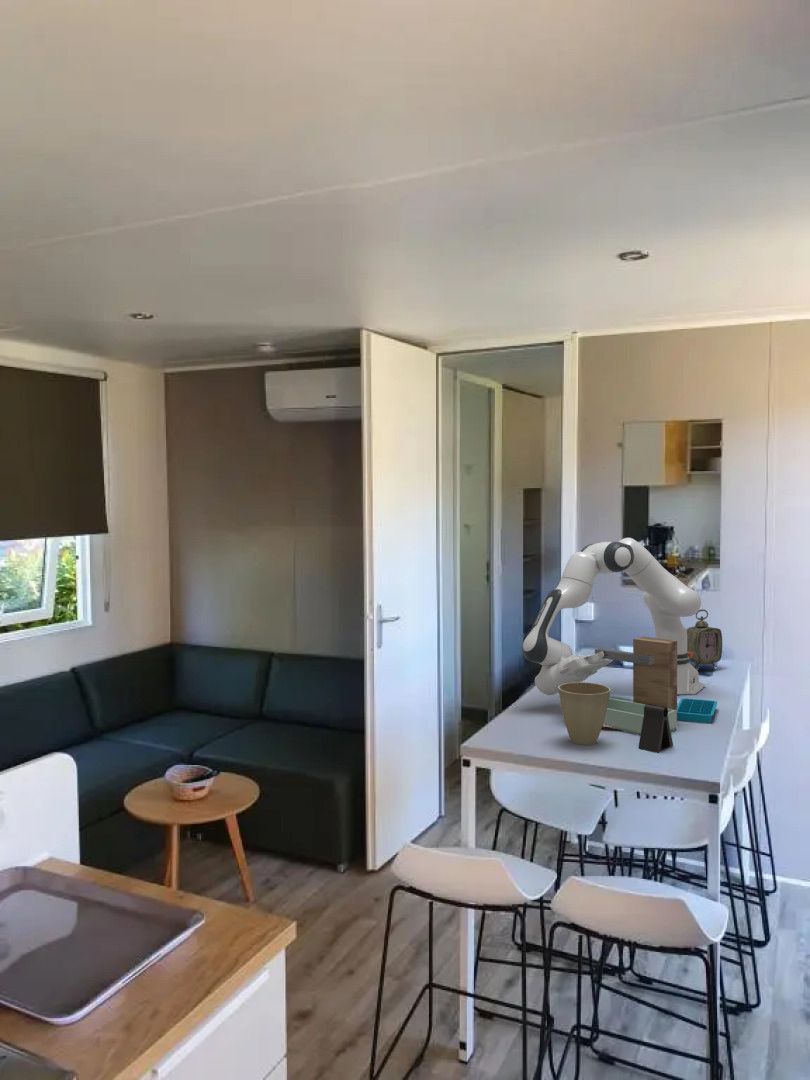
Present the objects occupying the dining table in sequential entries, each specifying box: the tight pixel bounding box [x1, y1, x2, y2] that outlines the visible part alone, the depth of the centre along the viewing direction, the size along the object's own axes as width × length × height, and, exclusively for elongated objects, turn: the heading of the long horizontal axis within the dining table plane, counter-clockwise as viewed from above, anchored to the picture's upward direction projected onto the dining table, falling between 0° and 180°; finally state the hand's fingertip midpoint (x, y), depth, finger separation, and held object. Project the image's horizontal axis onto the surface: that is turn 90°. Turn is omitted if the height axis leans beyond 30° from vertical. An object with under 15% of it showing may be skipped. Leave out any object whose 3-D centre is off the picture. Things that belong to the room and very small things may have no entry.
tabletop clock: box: [685, 608, 723, 671], centre depth 339 cm, size 14×9×25 cm, turn 119°
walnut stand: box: [632, 636, 678, 710], centre depth 265 cm, size 6×12×26 cm, turn 45°
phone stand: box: [637, 704, 674, 754], centre depth 238 cm, size 9×6×12 cm, turn 134°
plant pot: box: [558, 681, 611, 746], centre depth 244 cm, size 15×15×16 cm
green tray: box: [603, 697, 678, 736], centre depth 261 cm, size 13×28×6 cm, turn 45°
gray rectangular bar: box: [594, 647, 654, 665], centre depth 260 cm, size 3×19×2 cm, turn 45°
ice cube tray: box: [677, 697, 718, 724], centre depth 273 cm, size 12×20×3 cm, turn 155°
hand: (607, 652), depth 264 cm, fingers closed on gray rectangular bar, 3 cm apart
